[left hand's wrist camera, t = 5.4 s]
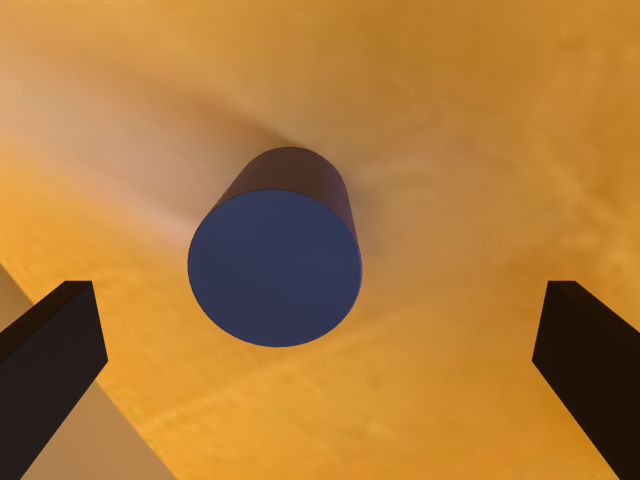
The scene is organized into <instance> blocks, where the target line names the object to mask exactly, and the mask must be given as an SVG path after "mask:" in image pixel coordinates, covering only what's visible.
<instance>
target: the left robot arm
mask: <svg viewBox="0 0 640 480" xmlns="http://www.w3.org/2000/svg"><path fill="white" fill-rule="evenodd" d="M107 362H108V357H107V353H106V348H105V343H104V338H103V333H102V328H101V323H100V318H99V314H98V309H97V304H96V299H95V294H94V289H93V284H92V281H64V282H63V283H62V284H60V285H59V286H58V287H57V288H55V289H54V290H53V291H52V292H50V293H49V294H48V295H47V296H45V297H44V298H43V299H42V300H41V301H39V302H38V303H37V304H36V305H34V306H33V307H32V308H31V309H29V310H28V311H27V312H26V313H24V314H23V315H22V316H21V317H19V318H18V319H17V320H16V321H14V322H13V323H12V324H11V325H9V326H8V327H7V328H6V329H4V330H3V331H2V332H1V333H0V480H20V479H21V478H22V476H23V475H24V474H25V472H26V471H27V470H28V468H29V467H30V466H31V464H32V463H33V462H34V460H35V459H36V458H37V456H38V455H39V454H40V452H41V451H42V449H43V448H44V447H45V445H46V444H47V443H48V441H49V440H50V439H51V437H52V436H53V435H54V433H55V432H56V431H57V429H58V428H59V427H60V425H61V424H62V423H63V421H64V420H65V419H66V417H67V416H68V414H69V413H70V412H71V410H72V409H73V408H74V406H75V405H76V404H77V402H78V401H79V400H80V398H81V397H82V396H83V394H84V393H85V392H86V390H87V389H88V388H89V386H90V385H91V384H92V382H93V381H94V380H95V378H96V377H97V376H98V374H99V373H100V371H101V370H102V369H103V367H104V366H105V365H106V363H107ZM532 362H533V363H534V365H535V366H536V367H537V369H538V370H539V371H540V373H541V374H542V376H543V377H544V378H545V380H546V381H547V382H548V384H549V385H550V386H551V388H552V389H553V390H554V392H555V393H556V394H557V396H558V397H559V398H560V400H561V401H562V402H563V404H564V405H565V406H566V408H567V409H568V410H569V412H570V413H571V415H572V416H573V417H574V419H575V420H576V421H577V423H578V424H579V425H580V427H581V428H582V429H583V431H584V432H585V433H586V435H587V436H588V437H589V439H590V440H591V441H592V443H593V444H594V445H595V447H596V448H597V449H598V451H599V452H600V454H601V455H602V456H603V458H604V459H605V460H606V462H607V463H608V464H609V466H610V467H611V468H612V470H613V471H614V472H615V474H616V475H617V476H618V478H619V479H620V480H640V333H639V332H638V331H637V330H636V329H634V328H633V327H632V326H631V325H629V324H628V323H627V322H626V321H624V320H623V319H622V318H621V317H619V316H618V315H617V314H616V313H614V312H613V311H612V310H611V309H609V308H608V307H607V306H606V305H604V304H603V303H602V302H601V301H599V300H598V299H597V298H596V297H594V296H593V295H592V294H591V293H590V292H588V291H587V290H586V289H585V288H583V287H582V286H581V285H580V284H578V283H577V282H576V281H548V284H547V289H546V294H545V299H544V304H543V309H542V314H541V318H540V323H539V328H538V333H537V338H536V343H535V348H534V353H533V357H532Z"/></svg>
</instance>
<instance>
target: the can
mask: <svg viewBox="0 0 640 480" xmlns="http://www.w3.org/2000/svg"><path fill="white" fill-rule="evenodd" d="M188 276H189V282H190V285H191V288H192V291H193V294H194V296H195V298H196V300H197V302H198V304H199V305H200V307H201V308H202V310H203V311H204V312H205V313H206V315H207V316H208V317H209V318H210V319H211V320H212V321H213V322H214V323H215V324H216V325H217V326H219V327H220V328H221V329H223V330H224V331H225V332H227V333H229V334H230V335H232V336H234V337H236V338H238V339H241V340H243V341H245V342H249V343H252V344H255V345H261V346H267V347H289V346H296V345H300V344H304V343H308V342H310V341H313V340H315V339H317V338H319V337H321V336H323V335H325V334H327V333H328V332H329V331H331V330H332V329H334V328H335V327H336V326H337V325H338V324H339V323H340V322H341V321H342V320H343V319H344V318H345V317H346V315H347V314H348V313H349V311H350V310H351V308H352V307H353V305H354V303H355V301H356V299H357V296H358V293H359V290H360V286H361V280H362V261H361V255H360V250H359V245H358V241H357V236H356V231H355V227H354V222H353V217H352V213H351V208H350V203H349V199H348V194H347V190H346V187H345V184H344V182H343V180H342V178H341V176H340V174H339V173H338V171H337V170H336V169H335V168H334V167H333V166H332V165H331V164H330V163H329V162H328V161H327V160H326V159H324V158H323V157H321V156H320V155H318V154H316V153H314V152H311V151H309V150H306V149H301V148H294V147H283V148H277V149H273V150H270V151H267V152H265V153H263V154H261V155H259V156H257V157H256V158H254V159H253V160H252V161H251V162H250V163H249V164H248V165H247V166H246V167H245V168H244V169H243V171H242V172H241V173H240V174H239V176H238V177H237V178H236V179H235V181H234V182H233V183H232V184H231V186H230V187H229V188H228V189H227V191H226V192H225V193H224V194H223V196H222V197H221V198H220V199H219V201H218V202H217V203H216V204H215V206H214V207H213V208H212V209H211V211H210V212H209V213H208V214H207V216H206V217H205V218H204V219H203V221H202V222H201V224H200V225H199V227H198V228H197V230H196V232H195V234H194V236H193V239H192V241H191V245H190V248H189V253H188Z"/></svg>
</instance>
